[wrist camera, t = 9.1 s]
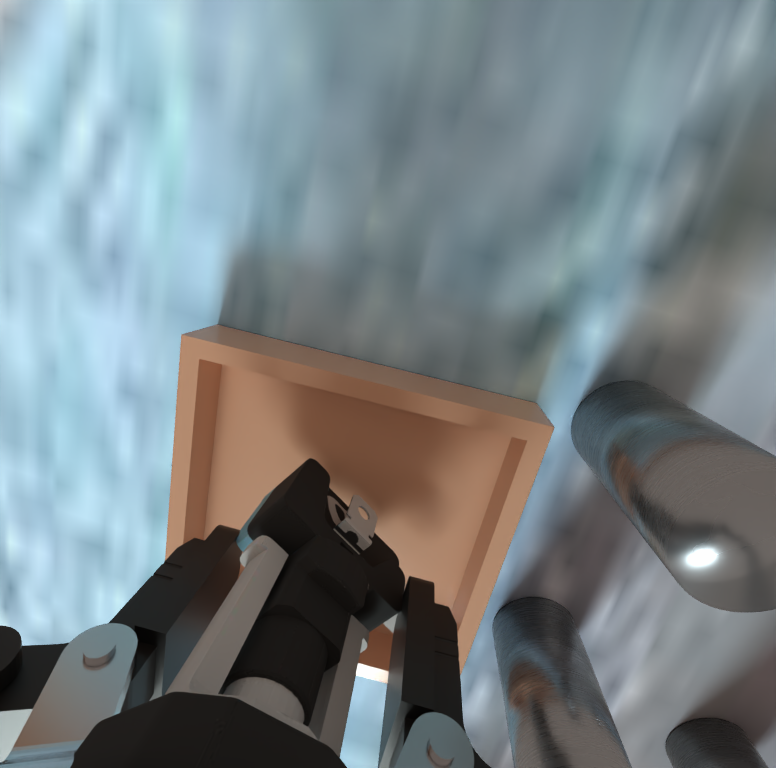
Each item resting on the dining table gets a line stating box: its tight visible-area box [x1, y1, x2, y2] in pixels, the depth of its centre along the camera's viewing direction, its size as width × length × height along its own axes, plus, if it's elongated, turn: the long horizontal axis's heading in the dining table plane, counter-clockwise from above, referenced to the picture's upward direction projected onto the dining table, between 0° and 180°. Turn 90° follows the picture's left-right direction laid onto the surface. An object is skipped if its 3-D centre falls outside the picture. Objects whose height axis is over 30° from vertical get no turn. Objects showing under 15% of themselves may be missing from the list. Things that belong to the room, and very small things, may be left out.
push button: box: [70, 458, 406, 768], centre depth 9 cm, size 7×5×10 cm
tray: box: [165, 325, 554, 684], centre depth 15 cm, size 11×11×2 cm
